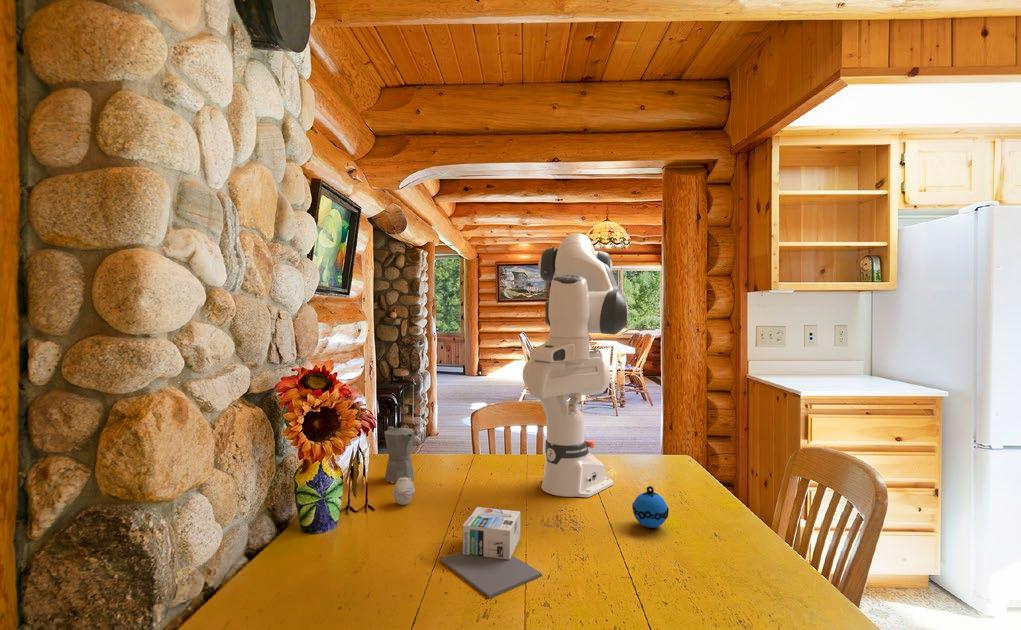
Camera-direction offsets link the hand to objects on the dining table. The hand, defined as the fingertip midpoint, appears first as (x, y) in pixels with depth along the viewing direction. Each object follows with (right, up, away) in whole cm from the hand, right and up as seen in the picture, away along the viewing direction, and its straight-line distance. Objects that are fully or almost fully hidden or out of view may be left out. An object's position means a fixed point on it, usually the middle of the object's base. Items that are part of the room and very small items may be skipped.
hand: (568, 413), depth 115 cm
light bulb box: (-11, -27, +2) cm, 30 cm away
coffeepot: (-48, -30, +51) cm, 76 cm away
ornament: (+22, -31, +15) cm, 41 cm away
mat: (-17, -31, -5) cm, 36 cm away
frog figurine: (-42, -31, +30) cm, 60 cm away
